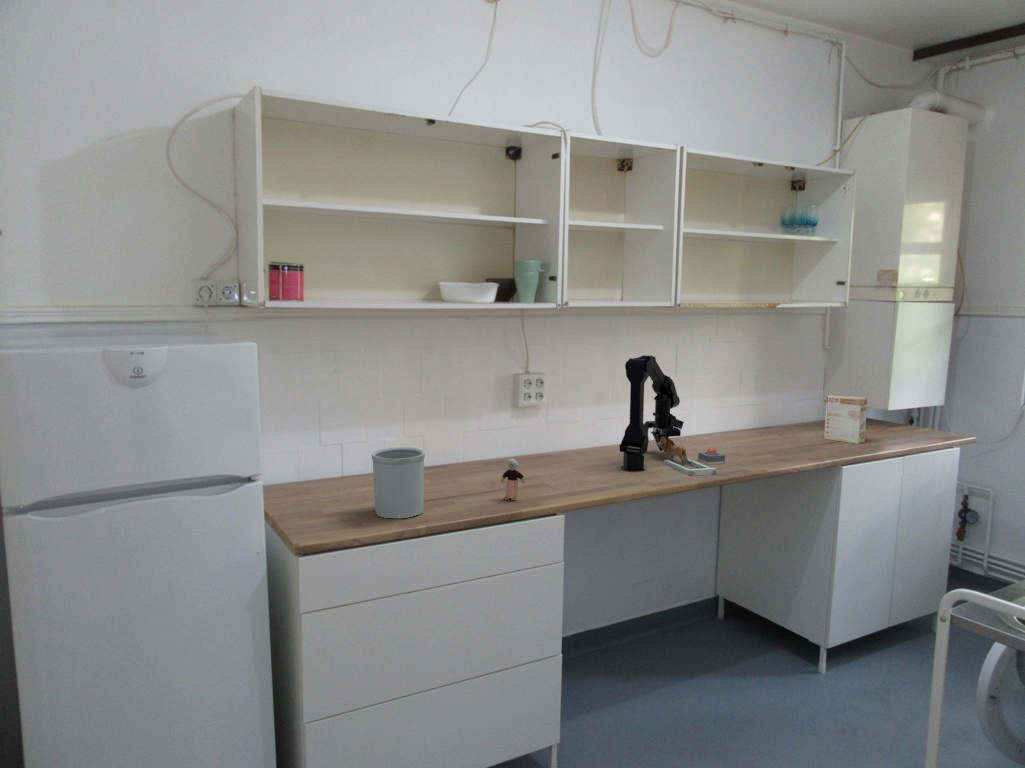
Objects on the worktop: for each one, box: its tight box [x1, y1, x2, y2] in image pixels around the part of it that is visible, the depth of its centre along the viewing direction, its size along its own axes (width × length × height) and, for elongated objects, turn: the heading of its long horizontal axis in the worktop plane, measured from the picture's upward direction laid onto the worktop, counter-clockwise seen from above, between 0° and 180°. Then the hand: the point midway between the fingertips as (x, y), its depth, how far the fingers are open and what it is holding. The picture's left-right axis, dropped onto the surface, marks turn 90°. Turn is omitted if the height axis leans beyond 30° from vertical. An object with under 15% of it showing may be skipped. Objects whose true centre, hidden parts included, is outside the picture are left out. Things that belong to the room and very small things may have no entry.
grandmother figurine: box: [500, 458, 526, 501], centre depth 220 cm, size 8×4×13 cm, turn 82°
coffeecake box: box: [823, 394, 868, 445], centre depth 314 cm, size 15×7×20 cm, turn 42°
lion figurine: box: [657, 436, 691, 466], centre depth 271 cm, size 15×5×9 cm, turn 40°
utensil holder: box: [371, 446, 426, 518], centre depth 206 cm, size 15×15×18 cm
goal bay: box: [663, 458, 717, 477], centre depth 261 cm, size 10×19×2 cm, turn 17°
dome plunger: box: [706, 447, 717, 455], centre depth 272 cm, size 3×3×4 cm
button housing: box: [697, 451, 726, 465], centre depth 273 cm, size 7×7×3 cm
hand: (661, 450), depth 281 cm, fingers closed
